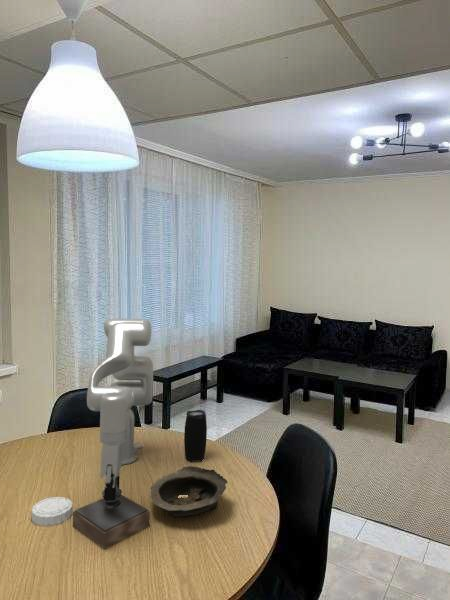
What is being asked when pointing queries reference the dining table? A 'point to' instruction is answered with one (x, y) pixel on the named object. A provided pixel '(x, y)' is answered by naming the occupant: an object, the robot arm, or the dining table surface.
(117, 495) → the black chess piece
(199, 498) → the stone bowl
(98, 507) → the walnut base
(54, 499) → the mooncake
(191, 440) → the portable speaker
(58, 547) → the dining table surface
